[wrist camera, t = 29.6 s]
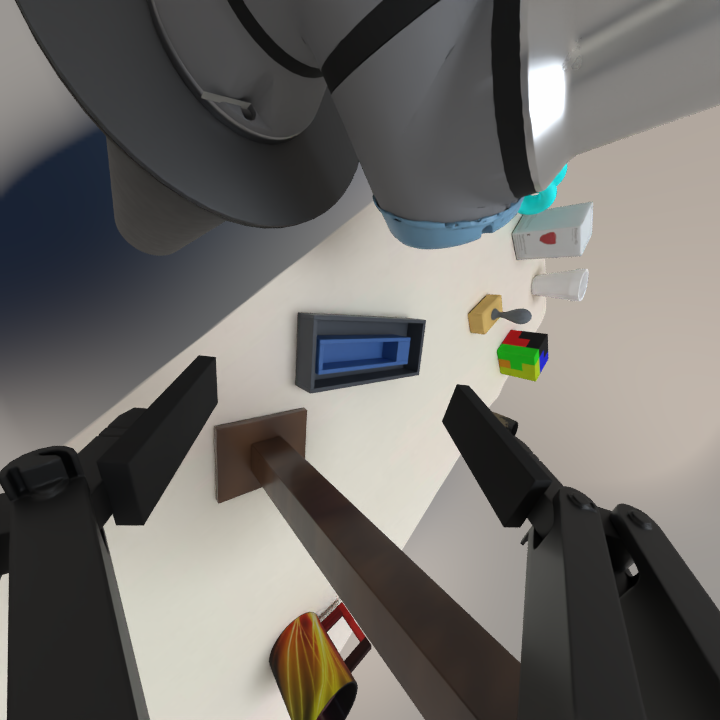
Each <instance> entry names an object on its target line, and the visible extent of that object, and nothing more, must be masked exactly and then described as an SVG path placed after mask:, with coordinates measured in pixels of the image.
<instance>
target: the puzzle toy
mask: <svg viewBox="0 0 720 720" xmlns="http://www.w3.org/2000/svg"><path fill="white" fill-rule="evenodd" d="M497 354H498V360H499V366H500V372H501V374H506V375H510V376H514V377H519V378H523V379H527V380H531V381H536V380H537V378H538V376H539V375H540V373H541V371H542V369H543V367H544V365H545V364H546V362H547V360H548V334H541V333H533V332H525V331H516V330H511V331H510V332H509V334H508V335H507V336H506V338H505V339H504V341H503V342H502V344H501V345H500V347H499V348H498V350H497Z"/></svg>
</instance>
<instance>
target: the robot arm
mask: <svg viewBox="0 0 720 720" xmlns="http://www.w3.org/2000/svg"><path fill="white" fill-rule="evenodd" d="M147 2H148V6H149V10H150V14H151V17H152V20H153V23H154V26H155V29H156V32H157V34H158V36H159V39H160V41H161V43H162V46H163V48H164V50H165V52H166V54H167V56H168V58H169V59H170V61H171V63H172V65H173V66H174V68H175V70H176V71H177V73H178V74H179V76H180V77H181V79H182V80H183V82H184V83H185V84H186V86H187V87H188V88H189V90H190V91H191V92H192V94H193V95H194V96H195V97H196V98H197V100H198V101H199V102H200V103H201V104H202V105H203V106H204V107H205V108H206V109H207V110H208V111H209V112H210V113H211V114H212V115H213V116H214V117H215V118H217V119H218V120H219V121H220V122H221V123H223V124H224V125H225V126H227V127H228V128H230V129H231V130H233V131H234V132H236V133H238V134H239V135H241V136H243V137H245V138H247V139H250V140H253V141H256V142H259V143H264V144H281V143H285V142H288V141H290V140H292V139H294V138H295V137H297V136H298V135H299V134H300V133H301V132H302V131H304V130H305V129H306V128H307V127H308V126H309V125H310V124H311V122H312V121H313V119H314V117H315V115H316V113H317V111H318V108H319V106H320V103H321V101H322V98H323V95H324V93H325V90H326V87H327V86H328V89H329V91H330V93H331V96H332V99H333V101H334V103H335V106H336V108H337V110H338V113H339V115H340V117H341V120H342V122H343V124H344V127H345V129H346V131H347V134H348V136H349V138H350V141H351V143H352V145H353V148H354V150H355V152H356V155H357V157H358V159H359V162H360V164H361V166H362V169H363V171H364V173H365V176H366V178H367V180H368V183H369V185H370V187H371V190H372V192H373V200H374V203H375V205H376V207H377V208H378V209H379V211H380V212H381V213H382V215H383V217H384V219H385V221H386V223H387V225H388V227H389V229H390V231H391V233H392V234H393V236H394V237H395V238H397V239H398V240H399V241H400V242H402V243H403V244H405V245H407V246H410V247H414V248H419V249H441V248H448V247H454V246H458V245H462V244H466V243H469V242H472V241H475V240H477V239H479V238H480V237H481V234H483V233H493V232H495V231H496V230H498V229H500V228H501V227H503V226H504V225H506V224H507V223H508V222H509V221H510V220H511V219H512V218H513V217H514V216H515V215H516V214H517V212H518V211H519V209H520V207H521V203H522V202H523V199H524V196H527V195H531V194H534V193H537V192H541V191H544V190H545V189H546V188H547V187H548V186H549V185H550V183H551V182H552V181H553V180H554V178H555V177H556V176H557V175H558V174H559V172H560V171H561V170H562V169H563V167H564V166H565V165H566V164H567V163H568V162H569V161H570V160H571V159H572V158H574V157H575V156H576V155H578V154H581V153H584V152H587V151H590V150H592V149H595V148H598V147H601V146H604V145H607V144H610V143H612V142H615V141H618V140H621V139H624V138H627V137H629V136H632V135H635V134H638V133H641V132H644V131H647V130H650V129H653V128H656V127H658V126H661V125H664V124H667V123H670V122H673V121H675V120H678V119H681V118H684V117H687V116H690V115H693V114H696V113H698V112H701V111H704V110H707V109H710V108H713V107H716V106H718V105H720V0H147ZM217 403H218V397H217V375H216V357H209V356H200V355H199V356H198V357H197V358H196V359H195V360H194V361H193V362H192V363H191V364H190V365H189V366H188V367H187V368H186V369H185V370H184V371H183V372H182V373H181V374H180V375H179V376H178V377H177V379H176V380H175V381H174V382H173V383H172V384H171V385H170V386H169V387H168V388H167V389H166V390H165V391H164V392H163V393H162V394H161V395H160V396H159V397H158V398H157V399H156V400H155V401H154V402H153V403H152V404H151V405H150V406H149V408H148V409H145V408H133V409H131V410H129V411H127V412H125V413H123V414H121V415H119V416H118V417H117V418H116V419H115V420H114V421H113V422H112V423H110V424H109V425H108V428H105V429H104V430H103V431H102V432H101V433H100V434H99V436H96V437H95V438H94V439H93V440H92V441H91V442H90V443H89V444H88V445H87V446H86V447H85V448H84V449H82V450H81V451H80V452H79V453H78V454H77V453H76V451H75V450H74V449H73V448H70V447H67V446H52V447H47V448H42V449H38V450H35V451H32V452H30V453H27V454H24V455H22V456H20V457H19V458H17V459H15V460H13V461H11V462H10V463H9V464H8V465H7V466H5V467H4V468H3V469H2V470H1V471H0V484H1V486H2V488H3V490H4V491H5V493H2V494H0V579H1V576H2V575H3V574H7V573H9V612H8V682H7V720H150V718H149V714H148V710H147V706H146V702H145V697H144V693H143V689H142V685H141V681H140V677H139V672H138V668H137V664H136V660H135V656H134V652H133V647H132V643H131V639H130V635H129V631H128V627H127V622H126V618H125V614H124V610H123V606H122V602H121V597H120V593H119V589H118V585H117V581H116V577H115V572H114V568H113V564H112V560H111V556H110V552H109V547H108V543H107V539H106V535H105V531H104V528H103V526H104V525H105V523H106V522H107V521H108V519H109V518H110V516H111V515H112V514H113V517H114V520H115V523H116V525H144V524H145V522H146V521H147V519H148V517H149V516H150V514H151V512H152V511H153V509H154V507H155V506H156V504H157V502H158V501H159V499H160V497H161V496H162V494H163V493H164V491H165V489H166V488H167V486H168V484H169V483H170V481H171V479H172V478H173V476H174V474H175V473H176V471H177V469H178V468H179V466H180V464H181V463H182V461H183V459H184V458H185V456H186V454H187V453H188V451H189V450H190V448H191V446H192V445H193V443H194V441H195V440H196V438H197V436H198V435H199V433H200V431H201V430H202V428H203V426H204V425H205V423H206V421H207V420H208V418H209V416H210V415H211V413H212V411H213V410H214V408H215V407H216V405H217ZM442 422H443V424H444V426H445V427H446V429H447V431H448V433H449V434H450V436H451V438H452V439H453V441H454V443H455V445H456V446H457V448H458V450H459V451H460V453H461V455H462V457H463V458H464V460H465V462H466V463H467V465H468V467H469V469H470V470H471V472H472V474H473V475H474V477H475V479H476V480H477V482H478V484H479V486H480V487H481V489H482V491H483V492H484V494H485V496H486V497H487V499H488V501H489V503H490V504H491V506H492V508H493V509H494V511H495V513H496V515H497V516H498V518H499V520H500V521H501V523H502V525H503V526H504V527H521V526H522V524H523V523H524V521H525V520H526V518H528V520H529V521H530V522H531V524H532V527H531V528H530V530H529V531H528V532H527V534H526V535H525V536H524V538H523V539H522V541H521V544H522V545H524V544H525V542H527V541H528V553H527V569H526V585H525V601H524V618H523V619H524V620H523V635H522V651H521V667H520V684H519V700H518V717H517V720H720V611H719V610H718V608H717V607H716V605H715V604H714V603H713V601H712V600H711V598H710V597H709V595H708V594H707V593H706V591H705V590H704V588H703V587H702V586H701V585H700V583H699V581H698V580H697V579H696V577H695V576H694V574H693V573H692V572H691V571H690V569H689V568H688V566H687V565H686V564H685V562H684V561H683V559H682V558H681V556H680V555H679V554H678V552H677V551H676V549H675V548H674V547H673V545H672V544H671V542H670V541H669V540H668V538H667V537H666V536H665V534H664V533H663V531H662V530H661V528H660V527H659V526H658V525H657V524H656V523H655V522H654V521H653V520H652V519H651V518H650V517H649V516H648V515H647V514H645V513H644V512H642V511H641V510H639V509H636V508H634V507H632V506H630V505H626V504H619V505H617V506H616V507H615V508H614V510H613V511H610V510H606V509H603V508H600V507H597V506H596V505H595V503H593V501H592V500H591V499H590V498H588V497H587V496H586V495H585V494H583V493H581V492H580V491H578V490H576V489H573V488H571V487H566V486H563V485H562V484H561V483H560V482H559V481H558V480H557V478H556V477H555V476H554V475H553V474H552V473H551V472H550V471H549V470H548V468H547V467H546V466H545V465H544V464H543V463H542V462H541V461H539V459H538V457H537V456H536V455H535V454H533V452H532V451H531V450H530V449H529V447H527V445H526V444H525V443H523V442H522V441H521V440H519V439H518V438H517V437H515V436H513V435H512V434H511V433H510V432H509V431H508V430H507V429H506V427H505V426H504V425H503V424H502V423H501V422H500V421H499V419H498V418H497V417H496V416H495V415H494V414H493V413H492V411H490V409H489V408H488V407H487V406H486V405H485V404H484V402H483V401H482V400H481V399H480V398H479V397H478V396H477V394H476V393H475V392H474V391H473V390H472V389H471V388H470V386H467V385H459V384H457V385H456V388H455V390H454V393H453V395H452V398H451V400H450V403H449V405H448V408H447V410H446V413H445V415H444V418H443V420H442ZM633 563H635V564H636V566H637V569H638V573H637V574H636V575H635V576H632V574H631V572H630V571H629V569H628V568H629V567H630V566H631V565H632V564H633Z"/></svg>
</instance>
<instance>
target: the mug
mask: <svg viewBox="0 0 720 720" xmlns="http://www.w3.org/2000/svg"><path fill="white" fill-rule="evenodd" d="M342 616H343V617H344V619H345V620H346V622H347V623H348V625H349V626H350V628H351V629H352V631H353V632H354V634H355V635H356V637H357V638H358V640H359V641H360V643H359V645H358V646H357V647H356V648H355V649H354V650H353V651H352V653H351V654H350V655H349V656H348V657H347V658H346V660H345V661H343V659H342V658H341V656H340V654H339V652H338V651H337V649H336V647H335V645H334V644H333V642H332V640H331V639H330V637H329V635H328V634H327V632H328V631H329V630H330V629H331V627H332V626H333V625H334V624H335V623H336V622H337V621H338V620H339V619H340V618H341V617H342ZM370 650H371V644H370V643H369V641H368V640H367V638H366V637H365V635H364V634H363V632H362V631H361V629H360V628H359V627H358V625H357V624H356V622H355V621H354V618H353V617H352V616H351V614H350V613H349V611H348V610H347V608H346V607H345V605H344V604H343V603H342V602H341V603H340V604H339V605H338V606H337V607H336V608H335V609H334V610H333V611H332V612H331V613H330V614H329V615H328V616H327V617H326V618H325V619H324V620H323V621H322V622H320V620H319V618H318V617H317V615H316V614H315V613H313V612H308V613H305V614H303V615H301V616H299V617H298V618H297V619H295V620H294V621H293V622H292V623H291V624H290V625H289V626H288V627H287V628H286V629H285V630H284V631H283V632H282V634H281V635H280V636H279V638H278V639H277V641H276V643H275V645H274V646H273V649H272V651H271V654H270V658H269V663H270V667H271V669H272V672H273V675H274V677H275V680H276V682H277V685H278V687H279V690H280V692H281V695H282V698H283V700H284V703H285V705H286V708H287V710H288V713H289V715H290V718H291V720H345V719H346V717H347V715H348V714H349V712H350V710H351V708H352V706H353V703H354V701H355V698H356V694H357V689H358V687H357V683H356V681H355V679H354V678H353V676H352V674H351V673H352V671H353V670H354V669H355V668H356V666H357V665H358V664H359V663H360V661H361V660H362V659H363V658H364V657H365V655H366V654H367V653H368V652H369V651H370Z"/></svg>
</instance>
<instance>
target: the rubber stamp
mask: <svg viewBox="0 0 720 720" xmlns="http://www.w3.org/2000/svg"><path fill="white" fill-rule="evenodd" d="M500 317H501V318H505V319H507V320H509V321H512V322H514V323H517V324H525V323H527V322H529V321H530V319H531V317H532V315H531V313H530V312H529V311H528V310H526V309H515V310H512V311H508V312H503V311H502V298H501V295H487V296H486V297H485V298H484V299H483V300H482V301H481V302H480V303H479V304H478V305H477V306H476V307H475V308H474V309H473V310H472V311H471V312H470V313H469V314H468V319H469V325H470V332H471V333H478V334H486V333H487V332H488V330H489V329H490V328H491V327H492V326H493V325H494V324H495V322H496V321H497V320H498V319H499V318H500Z"/></svg>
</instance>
